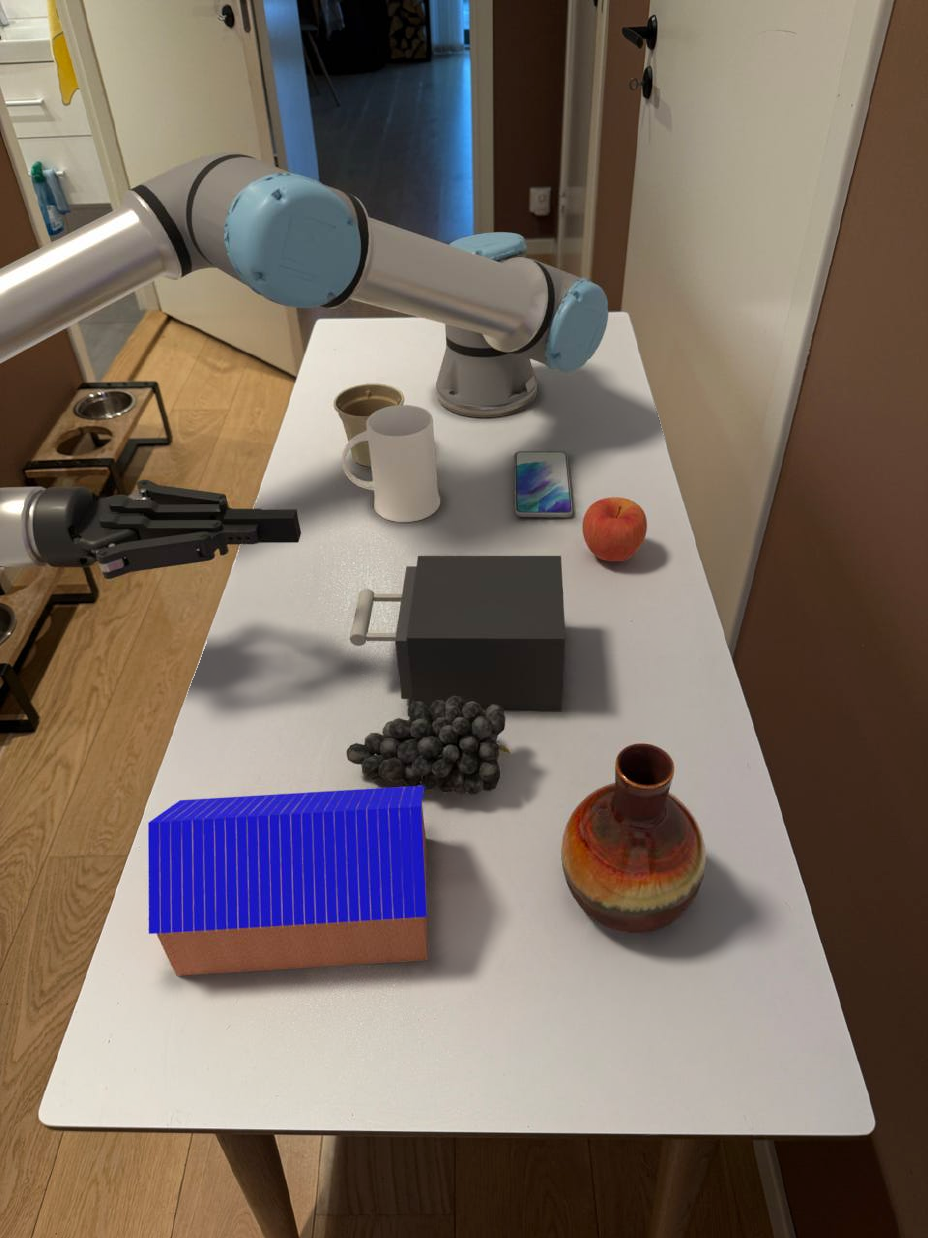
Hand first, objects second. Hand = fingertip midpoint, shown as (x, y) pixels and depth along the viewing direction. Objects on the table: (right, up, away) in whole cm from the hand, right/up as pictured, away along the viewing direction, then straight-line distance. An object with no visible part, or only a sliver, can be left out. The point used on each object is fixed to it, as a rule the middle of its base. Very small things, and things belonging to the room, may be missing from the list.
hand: (297, 525), depth 85 cm
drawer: (+14, -13, +10) cm, 21 cm away
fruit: (+12, -23, 0) cm, 26 cm away
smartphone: (+26, +9, +36) cm, 45 cm away
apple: (+33, -1, +24) cm, 41 cm away
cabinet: (+18, -13, +11) cm, 25 cm away
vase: (+29, -31, -10) cm, 43 cm away
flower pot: (+3, +14, +43) cm, 46 cm away
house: (+3, -32, -10) cm, 33 cm away
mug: (+6, +6, +34) cm, 35 cm away
